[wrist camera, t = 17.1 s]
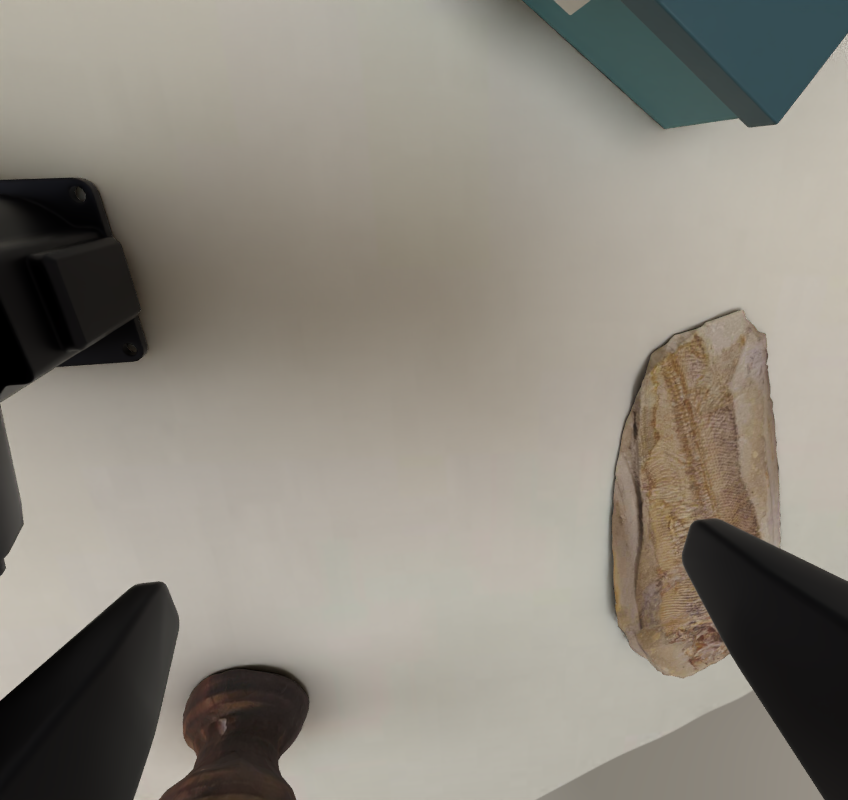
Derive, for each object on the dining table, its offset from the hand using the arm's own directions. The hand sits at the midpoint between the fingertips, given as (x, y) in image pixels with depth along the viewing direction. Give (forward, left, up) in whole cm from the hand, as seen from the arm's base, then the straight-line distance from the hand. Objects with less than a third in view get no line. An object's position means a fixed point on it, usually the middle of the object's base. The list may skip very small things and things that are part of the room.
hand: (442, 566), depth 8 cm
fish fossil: (+17, -13, -13) cm, 25 cm away
